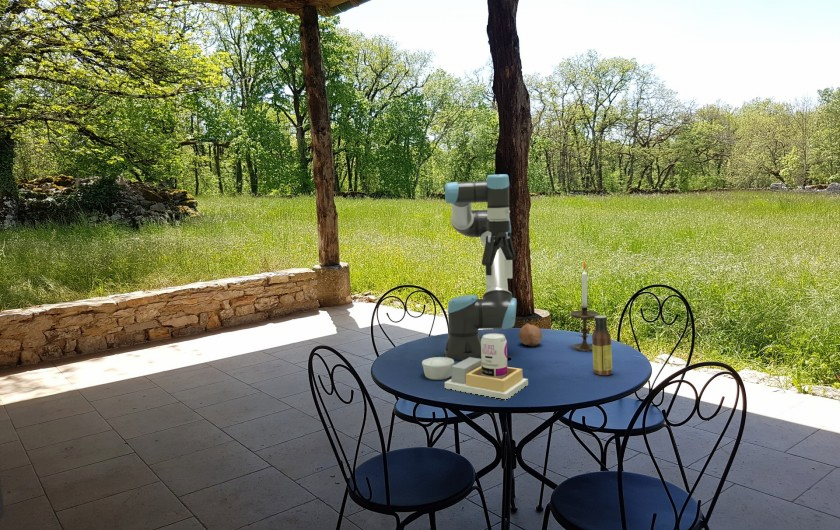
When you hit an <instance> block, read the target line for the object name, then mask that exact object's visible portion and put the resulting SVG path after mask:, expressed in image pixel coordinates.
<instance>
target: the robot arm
mask: <svg viewBox="0 0 840 530" xmlns="http://www.w3.org/2000/svg"><path fill="white" fill-rule="evenodd" d="M444 199H445V200H444V201H445V203H446V204H451V216H450V225H451V226H452V228H453V230H455V231H456V232H458V233H459V234H461V235H463V236H465V237H470V238H479V239H480V241H481V243H482V244H484V245H483V246H484V248H483V249H484V251H483V255H482V259H481V264H482V266H484V267H485V269H484V270H485V271H484V272H485V292H484V293H483V295H482V298H478V295H476V294H467V295H460V296H456V297H453V298H451V299H449V300H448V302H447V313H448V314H447V315H448V317H447V320H448V322H447V325H448V338H447V342H446V344H445V348H444V356H445V357H446V358H451V359H453V360H454V361H455V360H456V361H463V360H465V359H467V358H469V357H472V358H478V359H481V339H480V337H479V336H480V335H479V330H482V329H483V330H484V329H486V330H490V329H496V330H497V329H501V330H503V329H511V328H514V327H515V325H516V324H515V323H516V314H517V298H515V297H513V293H512V292H511V291H510V290H509V285H508V279H513V260H516V252H515V248H514V243H513V240H512V226H511V218H510V213H511V210H510V179H509V175H508V174H506V173H505V174H503V173H502V174H500V173H499V174H488V175H487V177H486V180H482V181H481V180H480V181H477V180H476V181H452V182H447V183H445V185H444ZM473 203H486V204H487V208H486V209H472V204H473Z"/></svg>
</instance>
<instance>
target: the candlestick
mask: <svg viewBox="0 0 840 530" xmlns="http://www.w3.org/2000/svg"><path fill="white" fill-rule="evenodd" d="M579 308H581V310H573V311H570V313H569V314H570V315H569V317H571V318H573V319H574V318H575V319H581V320H582V328H581V329H580V331H581V333H582V335H581V338H582V343H576V344H573V345H572V349H573V350H574V349H575V350H574V351H576V350H577V351H576V352H581V351H585V352H584V353H588V352H587V351H592V352H593V349H592V344H591V343H588V341H587V338H588V337H589V336H588V335H587V333H589V329H588V328H587V321H588V320H589V319H590V320H591V319H594V317H595V316H598V315H600V313H599V312H598V311H594V310H588V308H590V306H589V305H588V273H587V272H586V261H584V262H583V272H582V273H581V305H580V306H579Z"/></svg>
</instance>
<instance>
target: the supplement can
mask: <svg viewBox="0 0 840 530" xmlns="http://www.w3.org/2000/svg"><path fill="white" fill-rule="evenodd" d="M480 341H481V357H480V359H481V364H482V376H486V377H492V378H498V379H503V378H505V377H506V376H507V367H508V341H507V339H506V336H505V334H503V333H493V332H492V333H490V332H489V333H485V334H483V335H482V337H481V339H480Z"/></svg>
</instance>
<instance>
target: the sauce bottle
mask: <svg viewBox="0 0 840 530" xmlns="http://www.w3.org/2000/svg"><path fill="white" fill-rule="evenodd" d="M593 319H594V323H595V324H594V325H595V327H594V331H593V333H592V334H591V339H592V340H591V341H592V349H593V351H592V368H593V372H594V374H595V375H598V376H610V375H612V374H613V352H612V348H613V347H612V336H611V333H610V331H609V329H608V326H607V324H608V323H607V321H608V317H607V316H606V315H601V314H599V315H598V316H595V317H594V318H593Z"/></svg>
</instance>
